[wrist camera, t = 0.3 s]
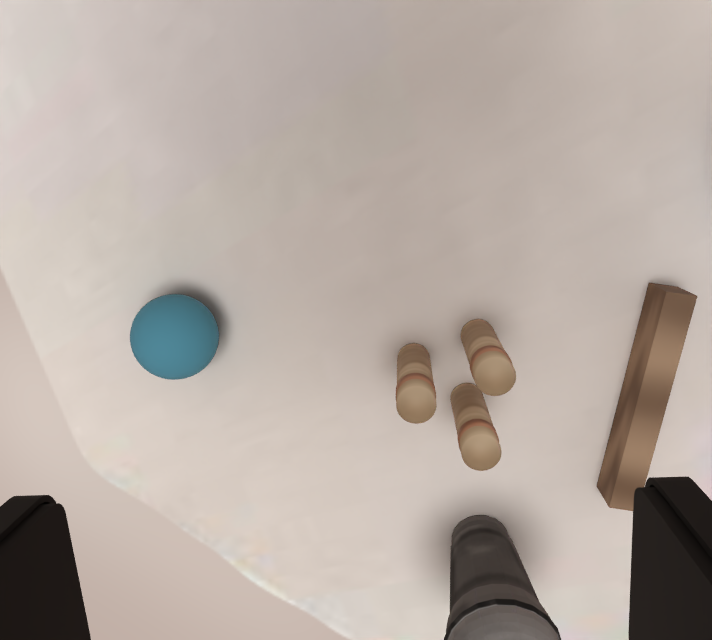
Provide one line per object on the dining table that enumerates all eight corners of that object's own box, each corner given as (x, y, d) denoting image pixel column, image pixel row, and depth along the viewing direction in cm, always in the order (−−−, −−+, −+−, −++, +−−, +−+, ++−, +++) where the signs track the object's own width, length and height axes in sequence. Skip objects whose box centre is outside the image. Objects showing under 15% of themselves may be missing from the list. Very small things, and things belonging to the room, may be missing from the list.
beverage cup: (461, 483, 49) (501, 697, 29) (544, 524, 49) (636, 761, 30) (417, 555, 51) (427, 800, 31) (497, 594, 51) (555, 859, 32)
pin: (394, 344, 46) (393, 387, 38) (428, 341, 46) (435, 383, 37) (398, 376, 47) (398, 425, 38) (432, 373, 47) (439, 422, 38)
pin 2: (448, 384, 47) (458, 435, 38) (482, 380, 47) (500, 432, 38) (451, 415, 47) (462, 473, 39) (484, 412, 47) (503, 469, 39)
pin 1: (458, 320, 46) (471, 358, 37) (493, 316, 45) (515, 354, 37) (461, 353, 46) (475, 398, 37) (496, 349, 46) (518, 394, 37)
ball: (142, 291, 47) (105, 310, 41) (220, 282, 46) (194, 300, 40) (159, 367, 48) (125, 396, 42) (234, 359, 48) (211, 387, 42)
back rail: (623, 490, 48) (637, 511, 45) (596, 486, 48) (609, 507, 45) (677, 286, 44) (697, 296, 41) (649, 282, 44) (666, 291, 41)
